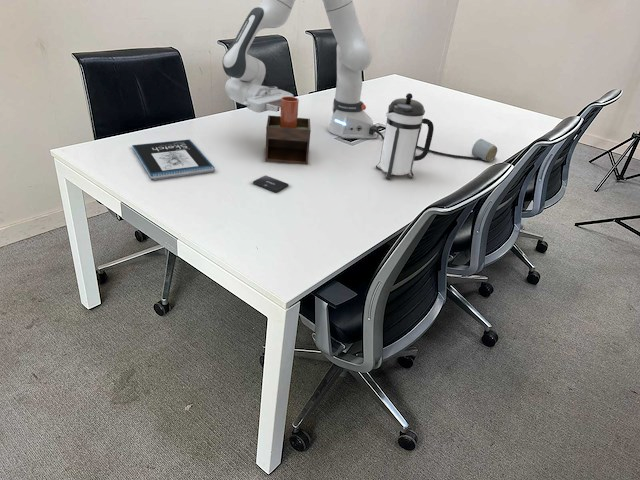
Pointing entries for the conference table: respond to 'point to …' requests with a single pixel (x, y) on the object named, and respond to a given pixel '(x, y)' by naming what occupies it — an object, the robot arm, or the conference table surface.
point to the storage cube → (287, 141)
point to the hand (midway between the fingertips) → (286, 107)
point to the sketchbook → (172, 159)
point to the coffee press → (403, 136)
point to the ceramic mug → (484, 150)
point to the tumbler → (289, 112)
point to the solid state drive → (270, 183)
